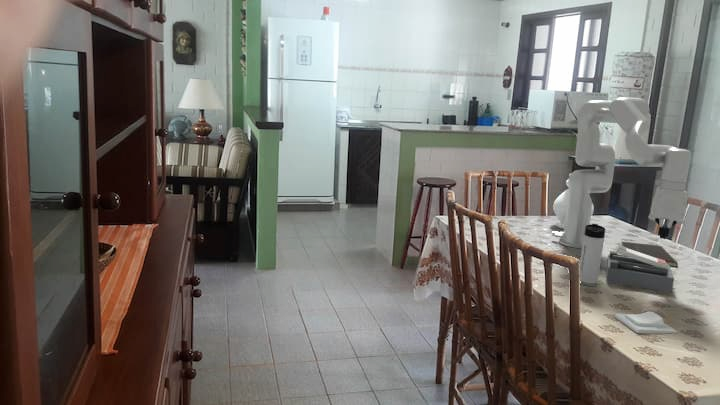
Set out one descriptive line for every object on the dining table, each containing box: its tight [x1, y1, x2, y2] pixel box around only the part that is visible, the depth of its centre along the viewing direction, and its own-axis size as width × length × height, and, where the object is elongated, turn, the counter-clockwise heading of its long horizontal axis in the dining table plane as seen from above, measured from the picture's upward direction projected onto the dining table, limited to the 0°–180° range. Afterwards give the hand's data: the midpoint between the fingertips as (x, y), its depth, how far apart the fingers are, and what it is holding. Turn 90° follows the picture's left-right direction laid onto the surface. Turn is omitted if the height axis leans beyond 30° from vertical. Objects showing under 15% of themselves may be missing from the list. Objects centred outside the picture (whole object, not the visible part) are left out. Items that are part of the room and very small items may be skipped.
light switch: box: [614, 310, 679, 335], centre depth 162 cm, size 11×4×13 cm
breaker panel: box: [605, 250, 675, 294], centre depth 199 cm, size 20×16×7 cm
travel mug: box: [579, 223, 606, 287], centre depth 191 cm, size 6×7×20 cm
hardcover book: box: [621, 241, 679, 268], centre depth 230 cm, size 16×23×2 cm
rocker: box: [615, 244, 667, 268], centre depth 198 cm, size 16×5×2 cm, turn 68°
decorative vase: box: [552, 172, 595, 230], centre depth 267 cm, size 18×18×25 cm
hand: (662, 237), depth 196 cm, fingers closed
